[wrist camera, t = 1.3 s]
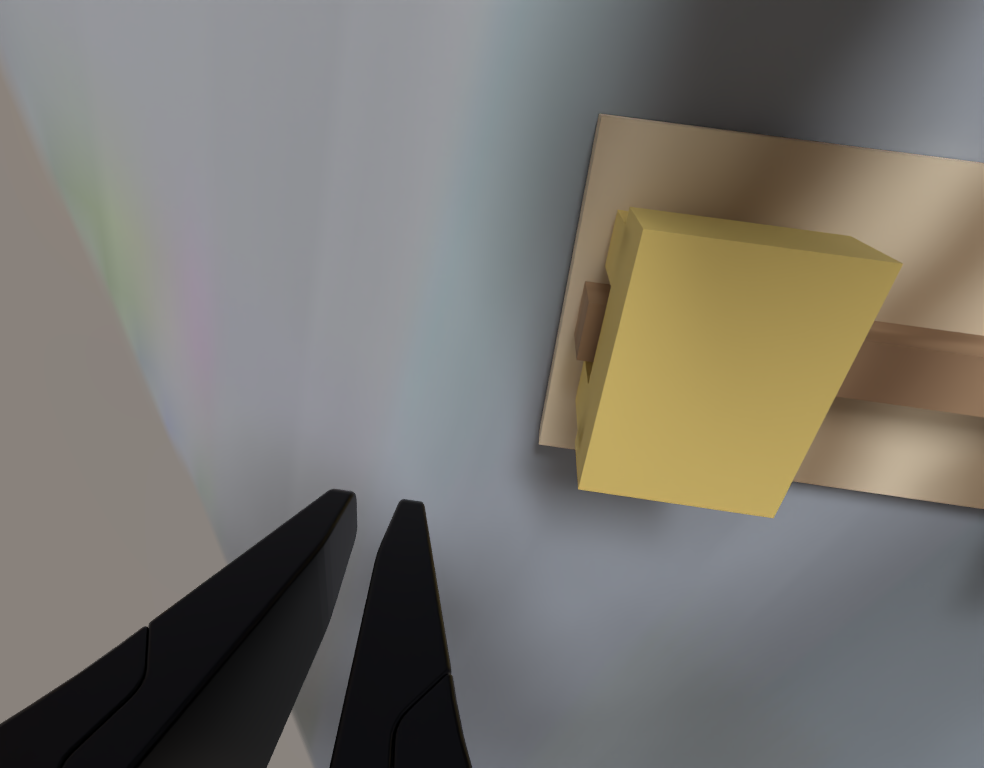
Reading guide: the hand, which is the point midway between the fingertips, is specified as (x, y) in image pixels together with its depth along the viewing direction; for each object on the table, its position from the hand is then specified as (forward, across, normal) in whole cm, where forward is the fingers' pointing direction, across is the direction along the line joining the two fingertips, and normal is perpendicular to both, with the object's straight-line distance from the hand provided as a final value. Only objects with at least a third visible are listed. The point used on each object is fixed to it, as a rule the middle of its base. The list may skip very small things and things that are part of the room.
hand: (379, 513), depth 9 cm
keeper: (+11, -8, 0) cm, 13 cm away
